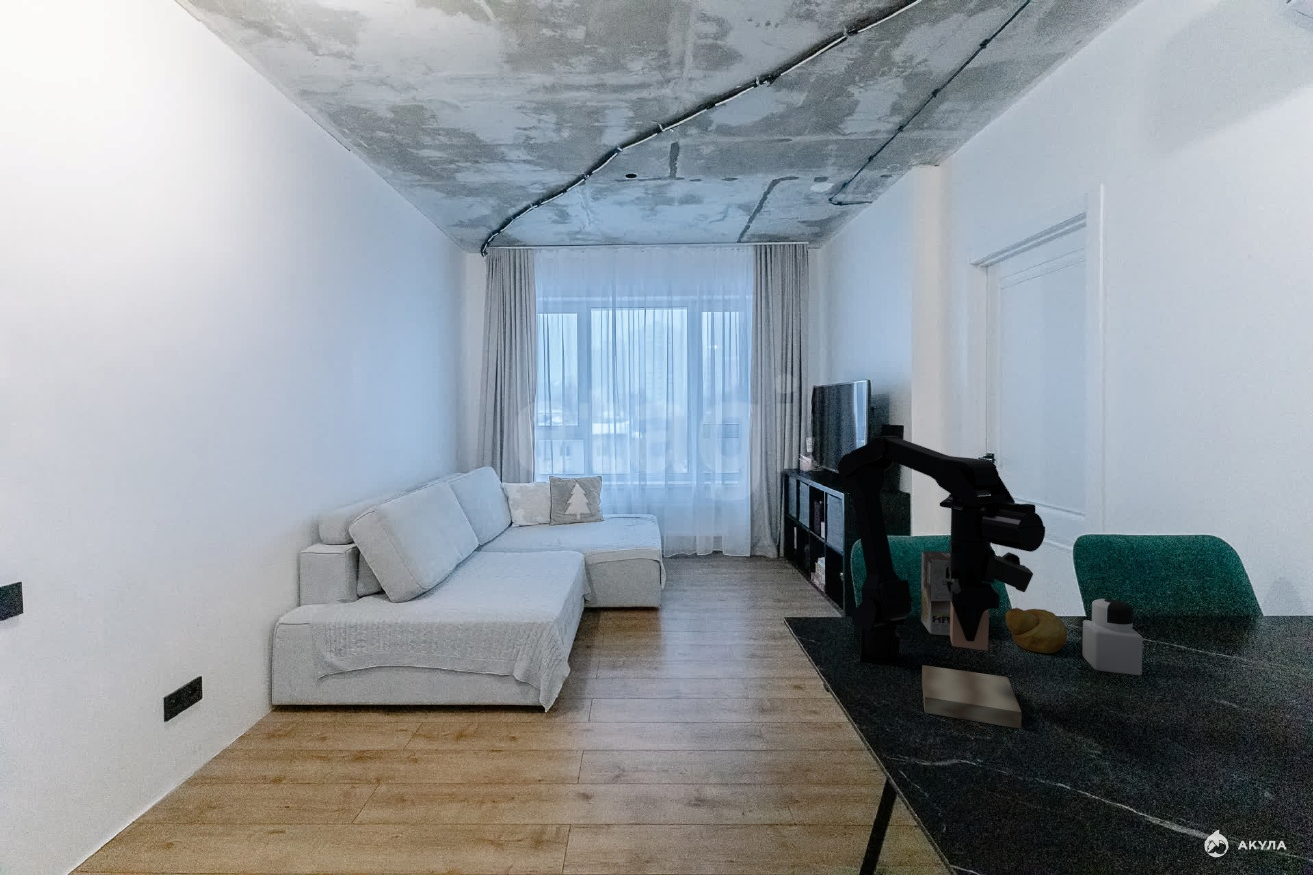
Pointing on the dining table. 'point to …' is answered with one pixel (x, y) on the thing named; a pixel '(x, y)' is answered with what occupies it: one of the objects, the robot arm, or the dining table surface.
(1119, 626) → the medicine bottle
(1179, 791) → the dining table surface
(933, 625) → the coffee box
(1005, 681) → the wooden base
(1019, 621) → the bread roll
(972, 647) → the terracotta block
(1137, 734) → the dining table surface
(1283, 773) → the dining table surface
